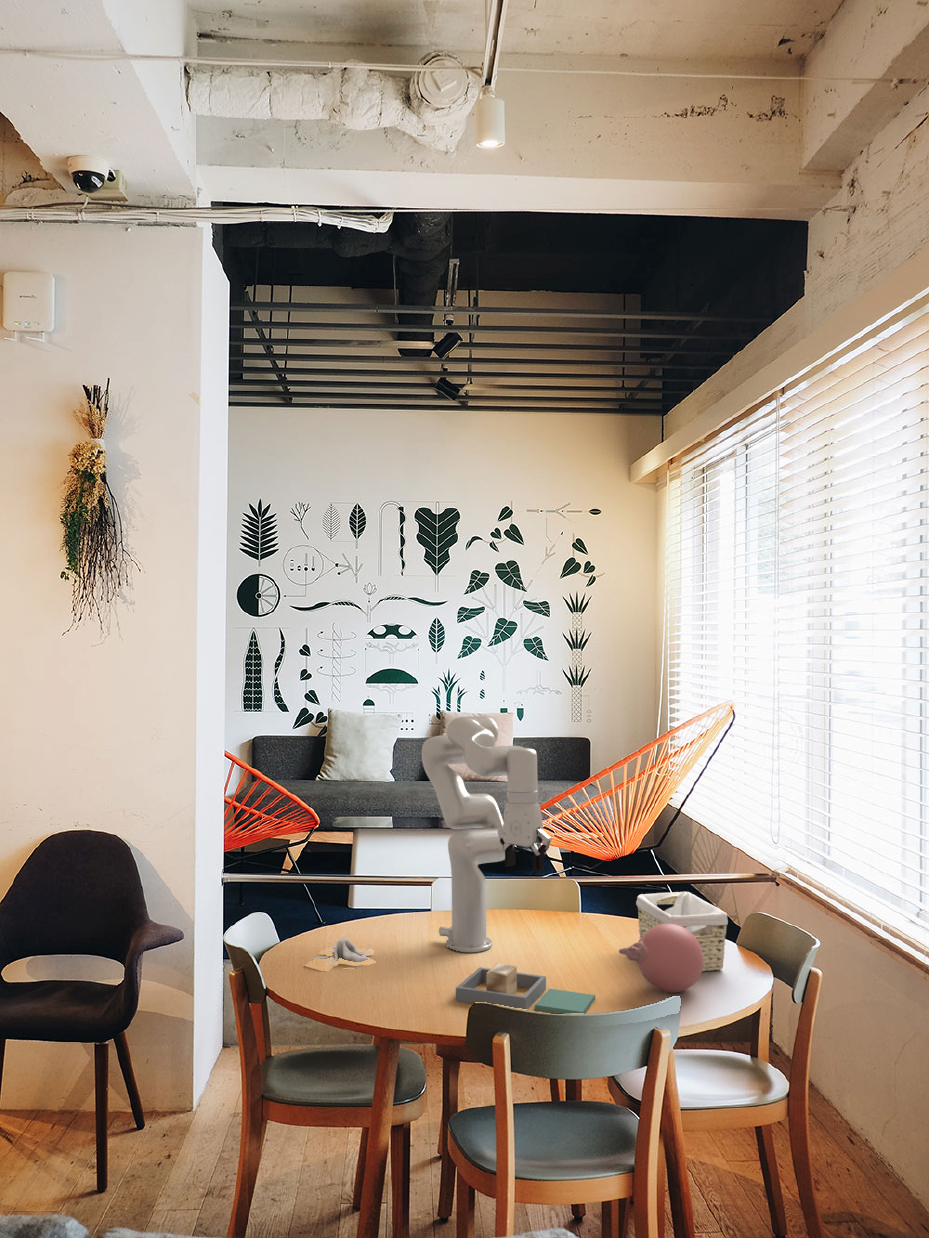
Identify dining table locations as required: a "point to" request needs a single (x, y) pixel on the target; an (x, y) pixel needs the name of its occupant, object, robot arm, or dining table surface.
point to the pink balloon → (668, 957)
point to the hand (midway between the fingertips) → (524, 868)
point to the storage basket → (687, 921)
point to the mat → (565, 1001)
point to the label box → (502, 979)
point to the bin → (472, 995)
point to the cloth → (346, 952)
